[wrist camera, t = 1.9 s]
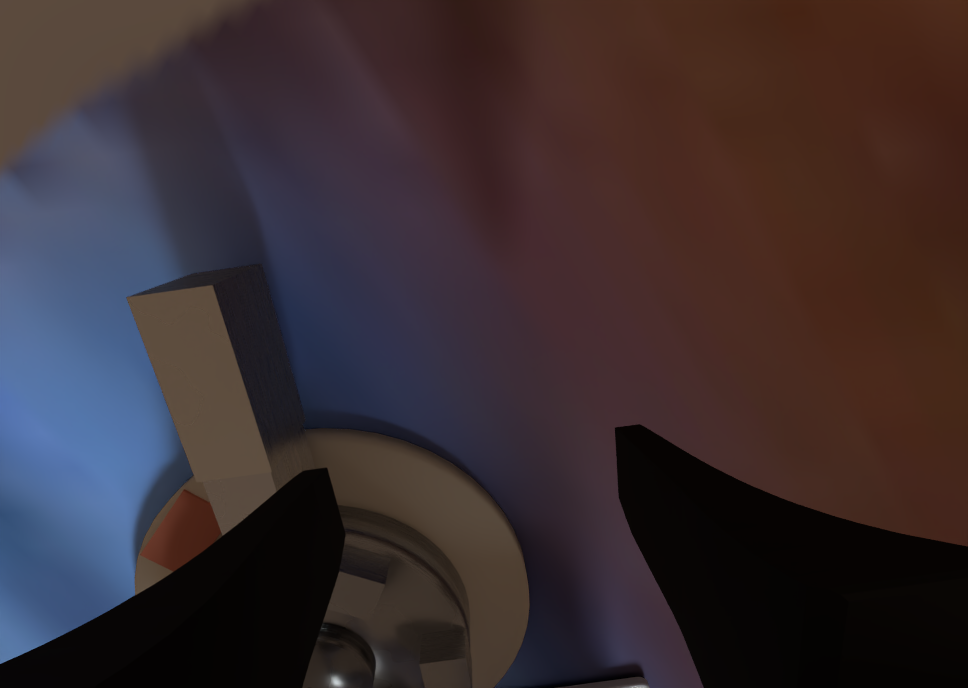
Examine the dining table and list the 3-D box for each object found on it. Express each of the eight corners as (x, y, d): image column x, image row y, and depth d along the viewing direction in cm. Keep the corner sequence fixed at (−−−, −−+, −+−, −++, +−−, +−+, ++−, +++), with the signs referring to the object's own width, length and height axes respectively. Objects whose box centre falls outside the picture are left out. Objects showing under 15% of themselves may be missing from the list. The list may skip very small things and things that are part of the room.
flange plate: (543, 699, 24) (547, 723, 23) (217, 742, 24) (206, 767, 23) (503, 401, 19) (505, 414, 18) (88, 458, 19) (67, 475, 18)
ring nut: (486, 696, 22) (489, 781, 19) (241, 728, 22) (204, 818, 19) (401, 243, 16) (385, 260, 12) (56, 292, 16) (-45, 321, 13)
